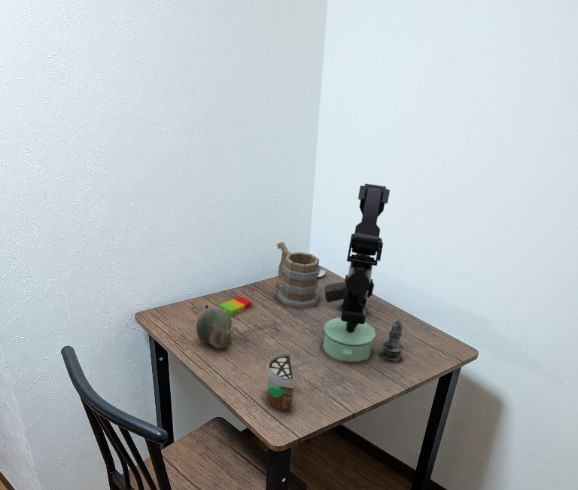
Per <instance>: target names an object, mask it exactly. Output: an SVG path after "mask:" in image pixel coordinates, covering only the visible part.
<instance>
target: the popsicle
mask: <svg viewBox="0 0 578 490" xmlns="http://www.w3.org/2000/svg"><path fill="white" fill-rule="evenodd" d="M251 307H252V301H251V300H250V299H248V298H246V297H243V296H237V297H234V298H233V299H230V300H228V301H225V302H222V303H221V304H219V308H221V309H223V310H225V311H226V312H227V313H228V314H229V315H230V316H232V315H235V314H237V313H239V312H241V311H244V310H246V309H248V308H251Z"/></svg>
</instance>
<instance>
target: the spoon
mask: <svg viewBox="0 0 578 490" xmlns="http://www.w3.org/2000/svg"><path fill="white" fill-rule="evenodd" d="M324 275H326V270H325V269H320V273H319V275H318V277H317V278H321V277H324ZM278 287H279V288H282V287H281V286H280V284H279V285H278Z"/></svg>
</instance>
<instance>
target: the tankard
mask: <svg viewBox="0 0 578 490" xmlns="http://www.w3.org/2000/svg"><path fill="white" fill-rule="evenodd" d="M276 246H277V249H279V250H280V251H281V257H280V262H279V265H278V271H277V273H278V278H279V281H280V284H279V285H280V286H281V287H280V289H279V291H278V292H277V293H276V299H278V300H279V302H281V303H283V304H285V305H288V306H293V307H296V308H297V307H298V308H304V307H315V306H316V305H317V302H318V300H319V297H320V294H319V293H317V289H318V288H319V280H318V278H319V277H318V275H319V273H320V270H321V266H320V259H319V258H318V257H317V256H315V255H314V254H312V253H307V252H303V251H297V252H291V251H290V250H289V249H288V248H287V246H286V244H285V242H284V241H281V242H278V243H277V244H276Z"/></svg>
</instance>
